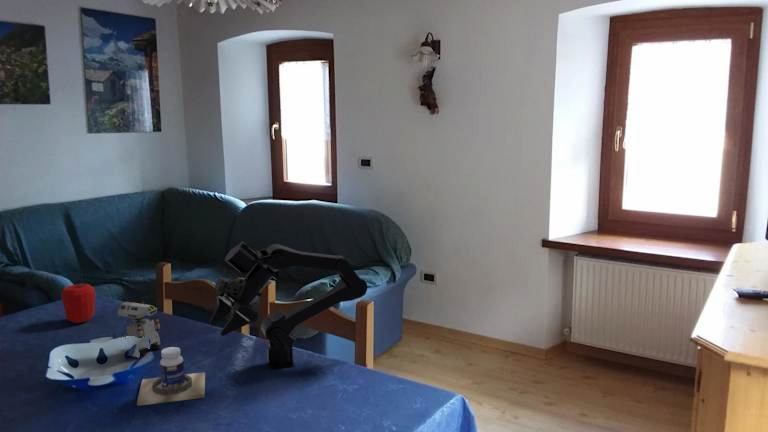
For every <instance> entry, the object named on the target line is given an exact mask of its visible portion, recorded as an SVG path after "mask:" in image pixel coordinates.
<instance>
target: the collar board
mask: <svg viewBox="0 0 768 432" xmlns="http://www.w3.org/2000/svg"><path fill="white" fill-rule="evenodd" d="M184 379H185V384H184V386H181V387H178V388H175V389H163V388H162V384H161V376H160V377H153V378H152V377H151V378H143V379H142V381H141V384H140V387H139V392H138V397H137V401H136V406H137V407H138V406H146V405H154V404H156V405H157V404H161V403H170V402H179V401H186V400H187V401H188V400H194V399H202V398H203V399H205V398H206V397H205V395H206V394H205V393H206V372H204V371H203V372H197V373H196V372H195V373H186V374H185V373H184Z"/></svg>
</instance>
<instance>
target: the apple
mask: <svg viewBox="0 0 768 432" xmlns="http://www.w3.org/2000/svg"><path fill="white" fill-rule="evenodd" d="M60 295H61V301H62V305H63V310H64V313H65V318H66V320H68V321H69V322H71V323H72V324H74V325H75V324H76V325H77V324H82V323H85V322H88V321H89V320H91V318H92V317H93V316H94V315H95V311H96V310H95V309H96V291H95V288H94V287H93V286H92V285H91V284H88V283H77V282H76V283H75V284H72V285H67V286H65V287H63V289H62V291H61V293H60Z"/></svg>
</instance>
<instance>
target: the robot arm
mask: <svg viewBox="0 0 768 432" xmlns="http://www.w3.org/2000/svg"><path fill="white" fill-rule="evenodd" d="M224 261H225V262H226V263H228V264H229V265H230V266H232V268H234V269H235V270H236V271H238V272H239V273H240V274H244V273H245V274H246V275H245V277H244V278H239V279H238V280H233V279H231V278H229V279H228V278H225V277H221V276H218V277H217V279H216V282H215V285H214V287H213V288H214V289H216V290H217V291H216V292H215V294H216V295H215V298H216V307H215V308H214V309H215V310H214V311H213V314H212V316H211V319H210V321H209V324H210V325H211V326H214V325H215V324H217V323H218V322H220V321H221V320H223V319H224V318H225V317H227V316H228V315H229V314H230V317H229V319H228V320H227V322H226V323H225V325H224V326H223V328H222V330H221V331H220V333H219V334H220V335H221V336H222V337H224V336H227V335H229V334H230V333H232V332H235V331H237V330H238V329H240V328H242V327H245V326H247V325H251V324H252V323H253V324H255V323H256V321H257V320H258V319H259V313H258V312H257V311H256V310H255V309H253V308H252V307H253V306H252V305H251V304H252V303H253V301H254V300H255V299H256V298H257V297H258V298H261V297H262V293H261V291H262V290H263V289H264V288H265V287H266V286H267V284H268V283H269V282H270V280H271V279H272V278H273V279H274V280H277V282H279V281H280V279H281V277H280V270H281V269H282V270H283V269H291V268H297V267H302V268H312V269H320V270H321V269H322V270H330V271H336V273H337V274H338V276H339V278H340V279H339V280H337V283H335V285H334V286H333V287H332V288H331V289H328V290H327V291H325V292H323V293H321V294H319V295H318V296H316V297H313V298H312V299H310V300H308V301H306V302H304V303H302V304H300V305H299V306H297V307H295V308H293V309H291V310H289V311H284V312H283V310H282V309H281V308H278V309H276V310H274V311H273V312H272V313H266V316H265V318H263V319H262V321H261V323H260V328H261V332H262V333H263V335H264V337H265V339H266V340H267V341H268V347H267V348H266V349H267V350H266V351H267V363H268V364H269V366H270V369H278V368H287V367H294V366H295V362H294V353H293V349H294V347H293V346H294V343H295V339H294V337H293V336H292V335H291V334H292V333H293V331H294V330H295V329H296V328H297V327H298V326H299V325H301V324H302V323H305V322H307V321H308V320H310V319H312V318H314V317H316V316H317V315H319V314H322V313H323V312H325V311H327V310H329V309H331V308H332V307H335V306H336V305H339V304H340V303H343V302H351V301H355V300H357V299H361V298H363V297H364V296H366V294H367V291H368V287H369V286H368V283H367V281H366V280H365V279H363V278H362V277H361V276H359V274H357V273H356V272H355V269H353V267H352V266H351V265H350V264H349V262H348V260H347V258H344V257H343V256H342V255H340V254H339V255H333V254H324V253H323V254H322V253H315V252H308V251H299V250H297V249H293V248H290V247H288V246H284V245H282V244H278V243H273V244H270V245H269V246H268V247H266V248H264V249H259V250H255V251H254V250H252V249H251V248H250V247H249V246H248V245H247V244H246V243H245V242H244V241H241V242H240V243H239V244H237V245H236V246H234V247H233V248H231V249H230V250H229V252H228V253H227V255H226V256H225V258H224ZM258 261H259V262H258ZM270 266H271V267H270ZM273 268H274V269H273Z"/></svg>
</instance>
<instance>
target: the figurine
mask: <svg viewBox="0 0 768 432" xmlns="http://www.w3.org/2000/svg"><path fill="white" fill-rule="evenodd" d="M157 310H158V308H157V307H156V306H155V305H151V304H145V302H144V301H142V302H140V303H137V302H132V301H131V302H130V301H125V302H122V303H121V304H120V306H119V308H118V310H117V316H119V317H124V318H131V320H132V322H131V323H130V324H128V325H126V326H125V327H126V332H127V333H126V334H124V335H122V336H121V337H120V338H122V337H126V336H135V337H137V338H142V337H143V336H144V337H145V336H146V337H147V338H148V339H149V343H150V344H151V347H152V349H154V350H155V349H156V350H159V349H161V348H162V343H161V338H160V336H159V333H158V331H160V330H161V325H160V320H159V319H158V318H157V317H156V316H153V315H154V314H156V313H157ZM145 316H147V317H148V316H149V317H150V316H153V317H150V319H148V318H145ZM153 318H155V320H154V319H153ZM113 338H114V339H115V340H116V339H117V338H118V337H117V336H116V335H115V333H113V334H112V339H113ZM151 347H150V348H151Z"/></svg>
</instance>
